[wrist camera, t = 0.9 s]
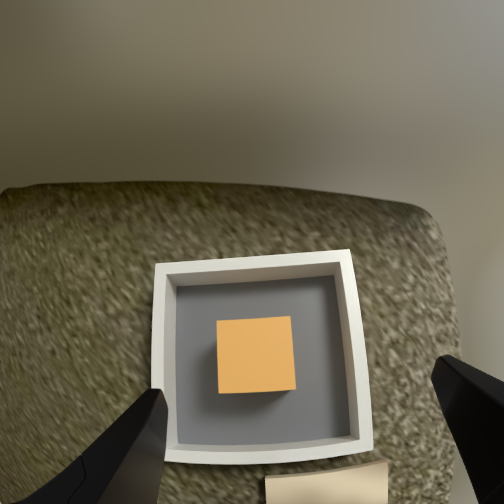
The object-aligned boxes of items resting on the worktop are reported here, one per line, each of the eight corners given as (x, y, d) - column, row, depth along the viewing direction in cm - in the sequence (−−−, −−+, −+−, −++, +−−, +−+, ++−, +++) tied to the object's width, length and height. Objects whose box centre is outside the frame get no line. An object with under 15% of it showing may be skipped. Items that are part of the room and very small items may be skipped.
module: (291, 389, 23) (296, 389, 19) (229, 393, 23) (218, 393, 19) (287, 330, 25) (290, 315, 21) (227, 333, 26) (216, 320, 21)
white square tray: (361, 443, 21) (373, 449, 18) (169, 452, 22) (154, 459, 19) (341, 266, 28) (349, 249, 25) (168, 278, 29) (155, 263, 25)
